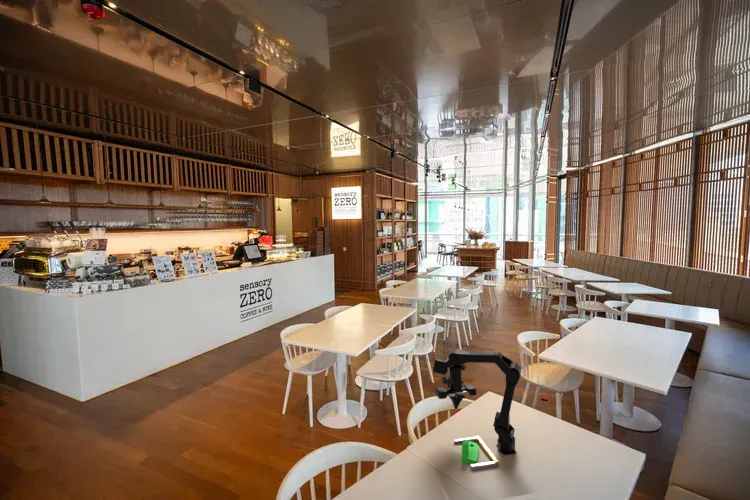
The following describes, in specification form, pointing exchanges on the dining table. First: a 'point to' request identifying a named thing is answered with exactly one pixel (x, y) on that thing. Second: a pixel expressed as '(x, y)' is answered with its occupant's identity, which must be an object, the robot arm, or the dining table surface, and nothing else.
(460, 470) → the dining table surface
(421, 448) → the dining table surface
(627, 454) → the dining table surface
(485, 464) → the u-shaped frame
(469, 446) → the mechanical part
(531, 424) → the dining table surface
